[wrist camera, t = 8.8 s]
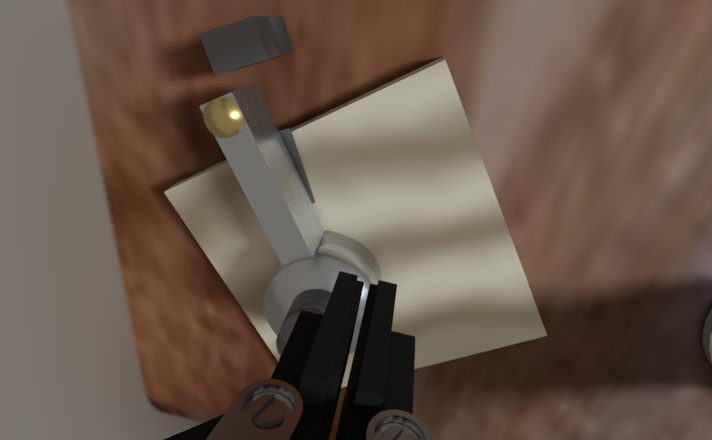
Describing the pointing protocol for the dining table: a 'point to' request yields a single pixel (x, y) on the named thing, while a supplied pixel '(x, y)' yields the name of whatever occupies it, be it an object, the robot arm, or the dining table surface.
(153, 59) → the dining table surface
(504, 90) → the dining table surface
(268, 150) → the crank
